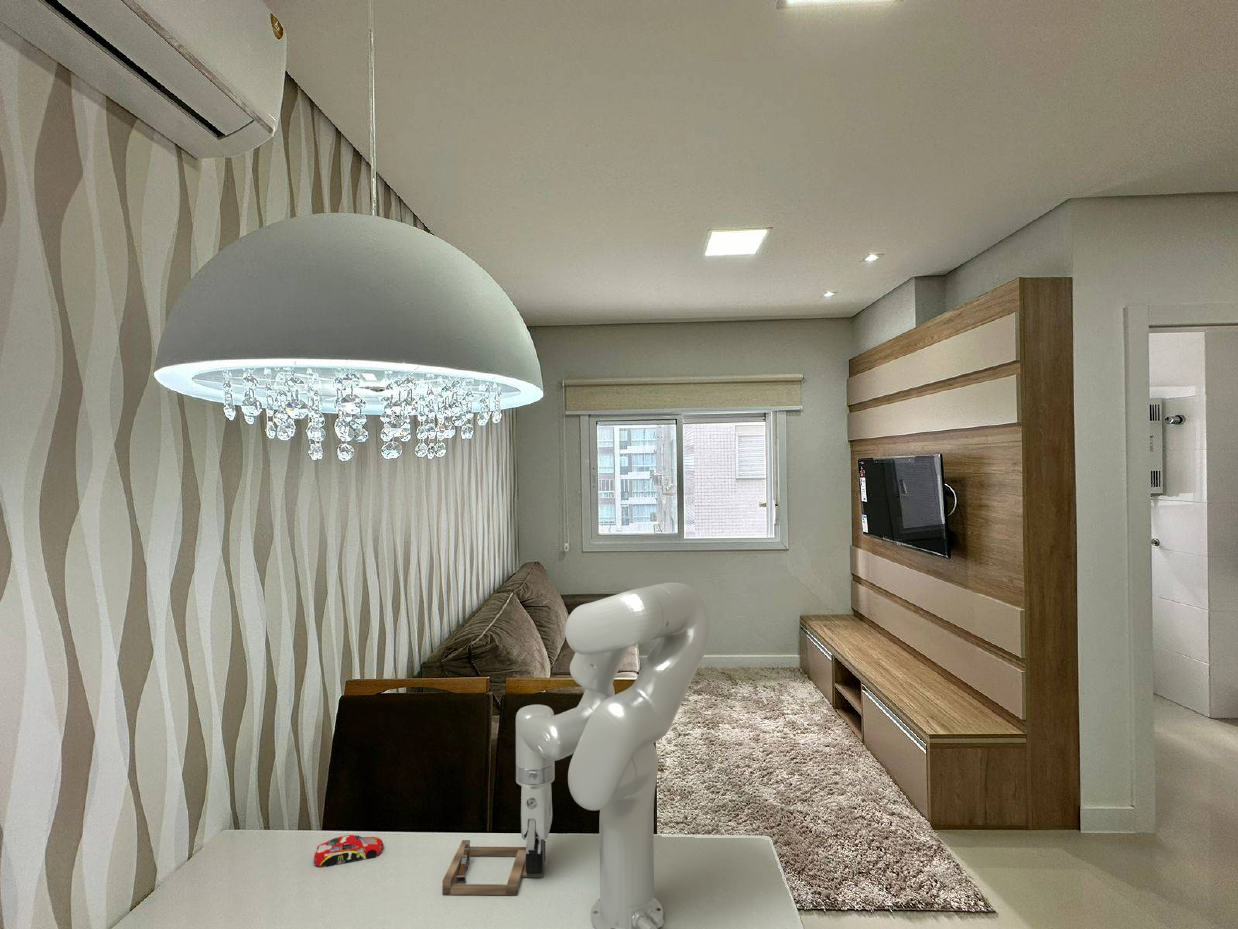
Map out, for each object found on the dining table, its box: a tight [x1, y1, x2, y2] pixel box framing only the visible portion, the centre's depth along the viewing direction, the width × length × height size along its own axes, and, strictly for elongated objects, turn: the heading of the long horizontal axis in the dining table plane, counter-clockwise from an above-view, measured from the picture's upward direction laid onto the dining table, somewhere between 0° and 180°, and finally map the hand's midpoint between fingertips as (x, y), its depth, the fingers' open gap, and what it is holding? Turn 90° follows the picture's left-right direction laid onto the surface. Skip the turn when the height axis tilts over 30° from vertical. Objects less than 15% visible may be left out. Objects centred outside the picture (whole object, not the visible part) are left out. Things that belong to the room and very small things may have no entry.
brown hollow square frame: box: [441, 834, 546, 896], centre depth 132 cm, size 14×18×7 cm
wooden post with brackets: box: [456, 842, 471, 884], centre depth 133 cm, size 2×8×4 cm, turn 2°
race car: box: [313, 834, 385, 868], centre depth 139 cm, size 13×5×4 cm, turn 109°
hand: (535, 866), depth 132 cm, fingers closed on brown hollow square frame, 3 cm apart
